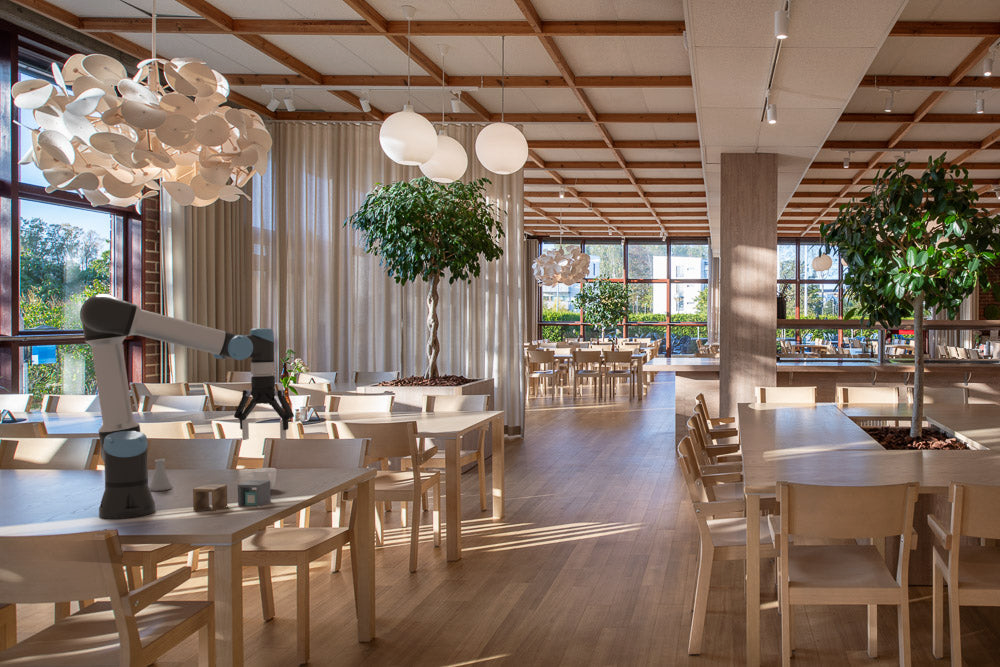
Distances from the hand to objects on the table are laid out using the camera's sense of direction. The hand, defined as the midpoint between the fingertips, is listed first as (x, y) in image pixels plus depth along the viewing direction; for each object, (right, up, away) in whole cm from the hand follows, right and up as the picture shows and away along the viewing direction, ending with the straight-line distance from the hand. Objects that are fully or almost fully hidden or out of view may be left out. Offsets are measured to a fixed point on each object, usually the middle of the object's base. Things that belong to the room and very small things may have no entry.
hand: (264, 439), depth 286 cm
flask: (-36, -18, +6) cm, 41 cm away
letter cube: (+3, -17, -21) cm, 27 cm away
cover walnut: (-9, -17, -26) cm, 33 cm away
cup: (0, -17, 0) cm, 17 cm away
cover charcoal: (+3, -17, -21) cm, 27 cm away
